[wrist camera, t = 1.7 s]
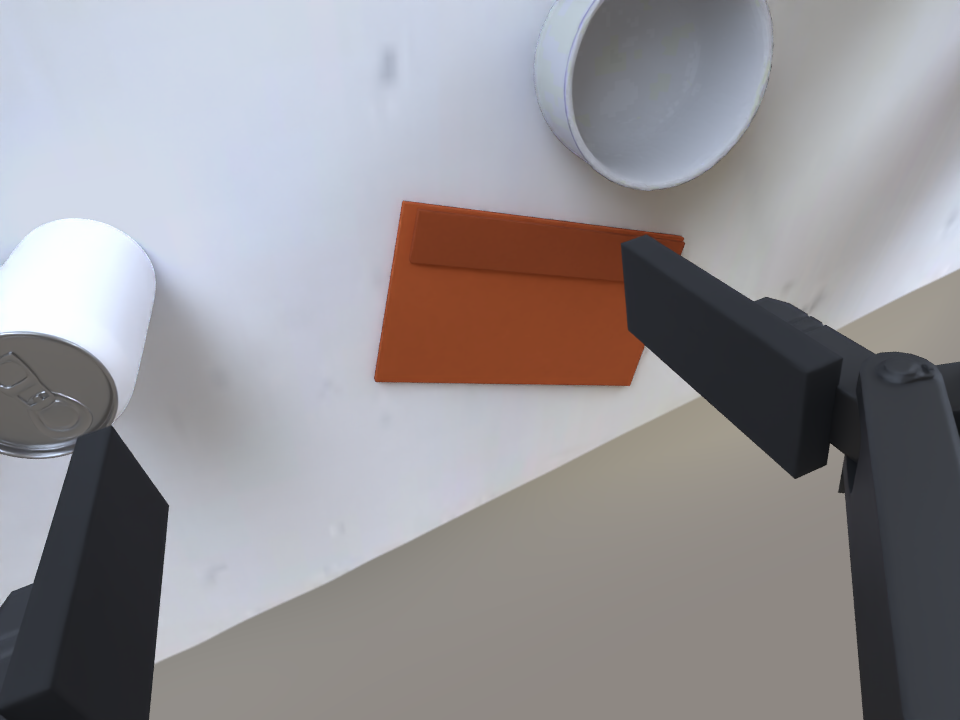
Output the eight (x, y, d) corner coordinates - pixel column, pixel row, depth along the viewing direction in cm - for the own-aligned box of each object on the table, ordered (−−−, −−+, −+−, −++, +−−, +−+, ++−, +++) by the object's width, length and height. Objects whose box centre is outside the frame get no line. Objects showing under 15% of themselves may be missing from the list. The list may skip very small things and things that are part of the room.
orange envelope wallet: (374, 378, 42) (376, 386, 42) (402, 200, 37) (406, 205, 36) (626, 382, 50) (633, 389, 49) (680, 235, 45) (689, 240, 44)
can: (82, 350, 35) (27, 494, 26) (-19, 257, 32) (-128, 385, 22) (183, 290, 36) (167, 411, 26) (95, 191, 32) (37, 288, 22)
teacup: (643, 169, 41) (721, 206, 35) (488, 139, 37) (544, 175, 30) (729, -86, 35) (843, -99, 29) (555, -157, 31) (643, -191, 24)
